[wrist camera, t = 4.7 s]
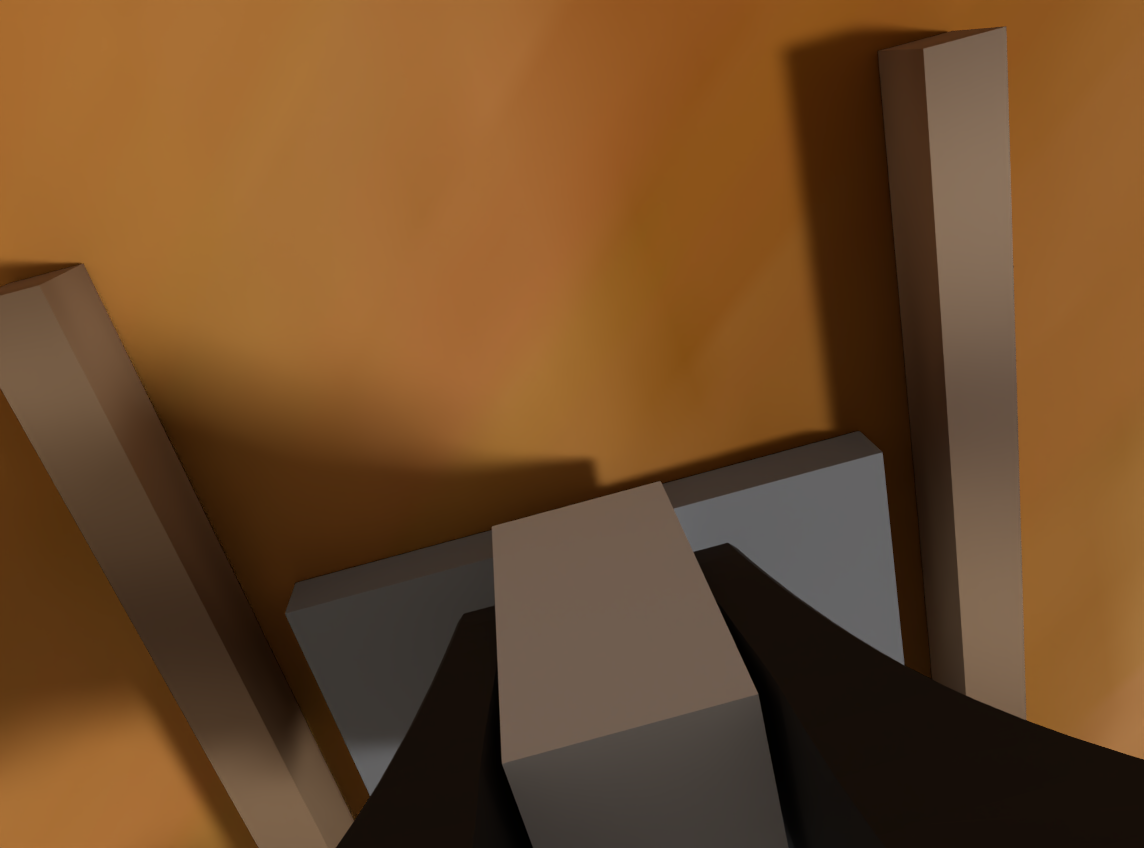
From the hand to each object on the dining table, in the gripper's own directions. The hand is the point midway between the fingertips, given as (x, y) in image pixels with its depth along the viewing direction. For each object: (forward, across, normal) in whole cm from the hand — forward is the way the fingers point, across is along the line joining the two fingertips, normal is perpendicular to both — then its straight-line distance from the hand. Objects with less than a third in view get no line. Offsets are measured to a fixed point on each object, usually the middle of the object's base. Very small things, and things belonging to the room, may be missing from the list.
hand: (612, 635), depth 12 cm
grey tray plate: (+2, 0, +8) cm, 8 cm away
